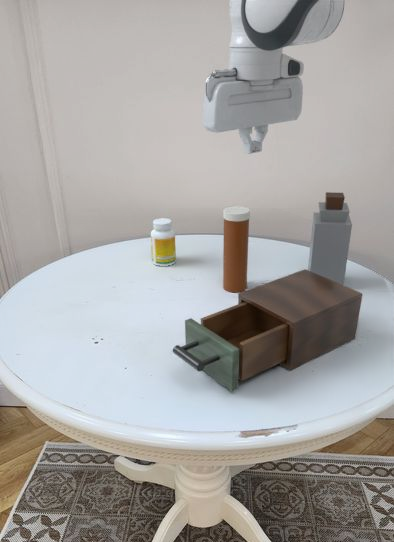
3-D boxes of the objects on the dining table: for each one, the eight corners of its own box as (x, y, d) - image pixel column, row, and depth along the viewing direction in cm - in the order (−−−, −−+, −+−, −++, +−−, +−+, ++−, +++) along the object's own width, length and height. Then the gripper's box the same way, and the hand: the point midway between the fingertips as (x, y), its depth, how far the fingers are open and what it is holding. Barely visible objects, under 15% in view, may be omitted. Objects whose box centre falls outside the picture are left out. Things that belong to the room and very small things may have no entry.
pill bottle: (252, 288, 108) (255, 210, 99) (233, 295, 105) (235, 215, 97) (236, 280, 111) (238, 204, 103) (217, 286, 109) (217, 209, 100)
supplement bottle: (147, 262, 120) (144, 220, 115) (166, 256, 123) (164, 215, 118) (161, 269, 117) (159, 226, 112) (181, 262, 120) (179, 221, 115)
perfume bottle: (307, 275, 113) (315, 189, 103) (339, 276, 112) (351, 190, 102) (308, 288, 107) (317, 199, 98) (342, 290, 106) (355, 200, 97)
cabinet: (289, 371, 83) (294, 322, 78) (237, 338, 91) (238, 293, 87) (355, 339, 90) (362, 293, 86) (301, 311, 99) (305, 268, 94)
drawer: (208, 402, 75) (208, 362, 71) (164, 366, 83) (161, 328, 79) (302, 357, 84) (306, 319, 81) (253, 329, 92) (255, 293, 88)
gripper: (217, 71, 82) (218, 164, 90) (311, 63, 92) (304, 147, 100) (194, 69, 87) (196, 158, 94) (285, 62, 97) (281, 142, 104)
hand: (252, 152), depth 97 cm, fingers closed
